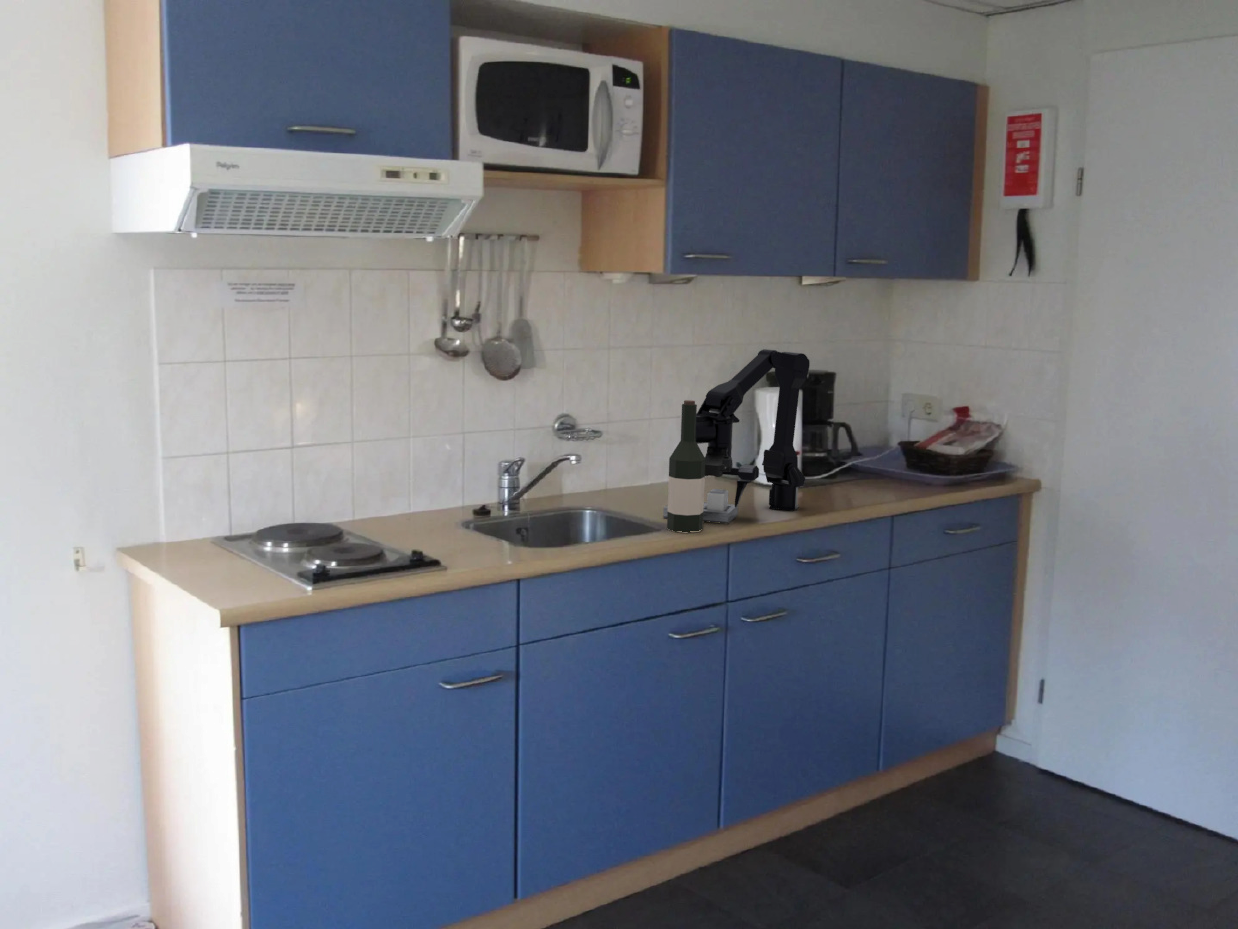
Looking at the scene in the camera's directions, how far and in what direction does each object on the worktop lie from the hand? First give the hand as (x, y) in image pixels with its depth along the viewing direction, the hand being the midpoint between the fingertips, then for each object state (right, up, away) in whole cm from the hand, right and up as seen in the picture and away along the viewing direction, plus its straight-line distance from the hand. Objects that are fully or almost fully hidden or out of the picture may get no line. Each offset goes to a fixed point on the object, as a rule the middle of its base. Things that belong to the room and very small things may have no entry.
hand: (717, 505), depth 296 cm
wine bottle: (-9, -5, -13) cm, 16 cm away
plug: (0, -3, 0) cm, 3 cm away
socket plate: (-4, -3, +2) cm, 5 cm away
